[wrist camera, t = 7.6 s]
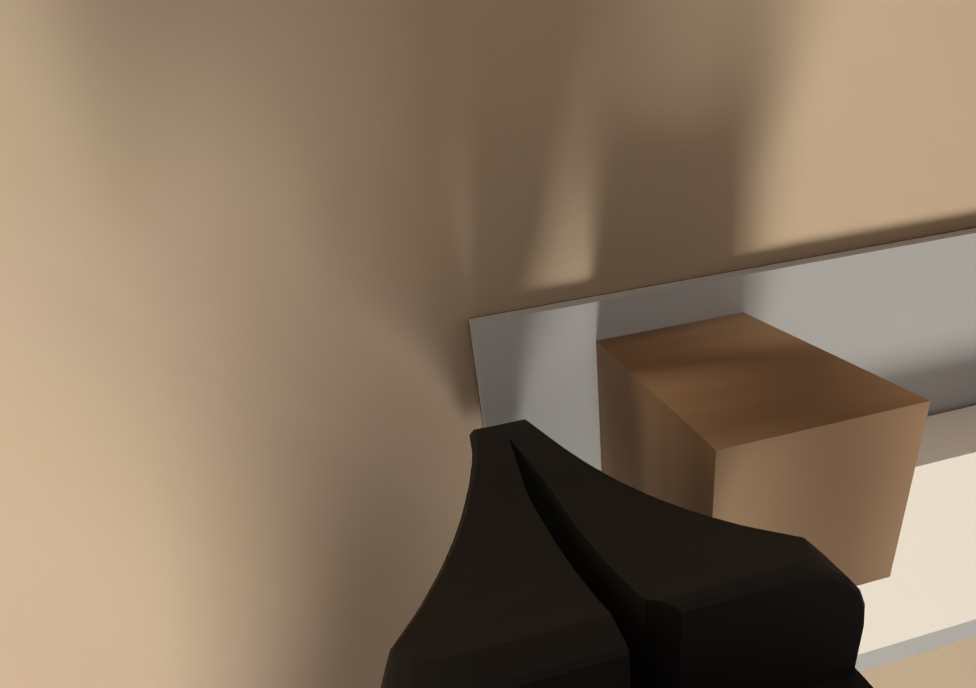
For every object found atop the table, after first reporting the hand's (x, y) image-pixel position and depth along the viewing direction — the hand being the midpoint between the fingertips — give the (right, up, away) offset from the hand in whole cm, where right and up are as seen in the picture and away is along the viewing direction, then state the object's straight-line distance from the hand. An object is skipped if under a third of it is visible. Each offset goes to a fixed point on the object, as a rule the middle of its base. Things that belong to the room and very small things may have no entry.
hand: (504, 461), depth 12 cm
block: (+4, +1, +2) cm, 5 cm away
